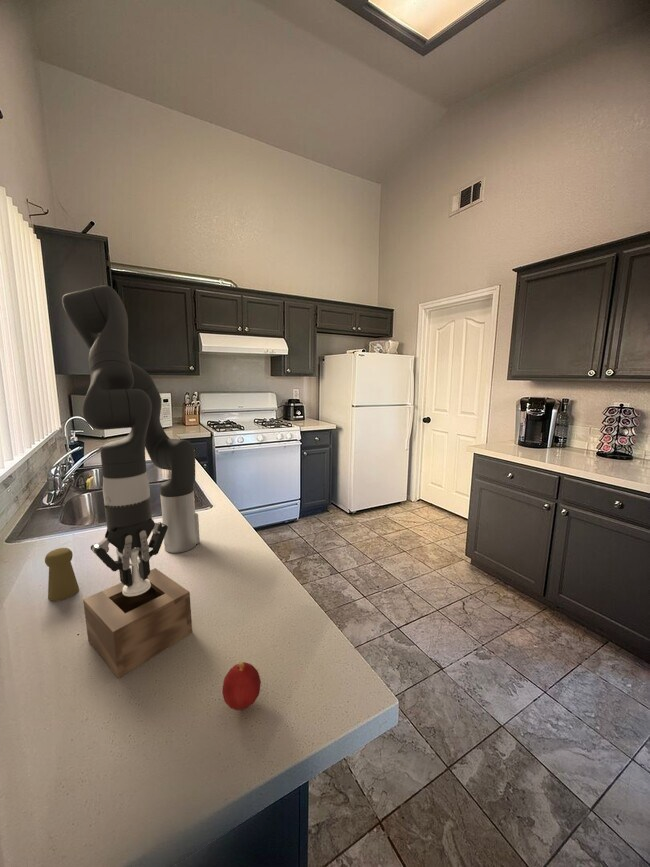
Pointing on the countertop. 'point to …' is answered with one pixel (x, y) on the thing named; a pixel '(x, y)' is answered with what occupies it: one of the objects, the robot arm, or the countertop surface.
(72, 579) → the cork
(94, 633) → the drop box
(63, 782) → the countertop surface
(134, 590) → the chess piece
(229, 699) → the red oval fruit
